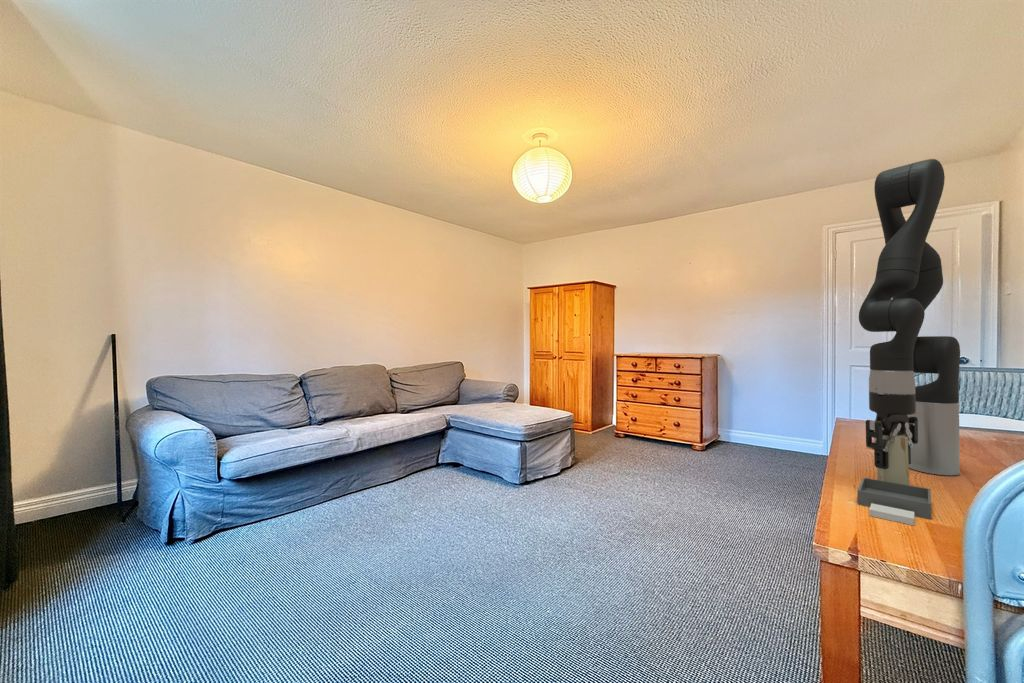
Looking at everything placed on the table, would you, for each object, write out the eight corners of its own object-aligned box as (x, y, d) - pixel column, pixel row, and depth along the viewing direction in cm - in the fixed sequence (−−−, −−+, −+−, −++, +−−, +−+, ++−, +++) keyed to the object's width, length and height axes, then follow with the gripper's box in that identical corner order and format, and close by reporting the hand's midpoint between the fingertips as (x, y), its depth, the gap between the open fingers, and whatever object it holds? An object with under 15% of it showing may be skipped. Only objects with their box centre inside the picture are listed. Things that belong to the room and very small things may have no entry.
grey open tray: (863, 490, 90) (862, 477, 90) (930, 502, 83) (930, 488, 83) (854, 512, 79) (854, 497, 79) (931, 529, 72) (931, 513, 72)
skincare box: (910, 496, 87) (909, 437, 87) (883, 492, 89) (882, 435, 89) (902, 486, 92) (901, 431, 92) (876, 483, 94) (875, 429, 94)
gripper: (891, 387, 96) (892, 457, 96) (850, 390, 92) (852, 465, 92) (933, 390, 89) (934, 466, 89) (891, 394, 84) (893, 475, 84)
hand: (892, 465), depth 90 cm, fingers closed on skincare box, 7 cm apart
